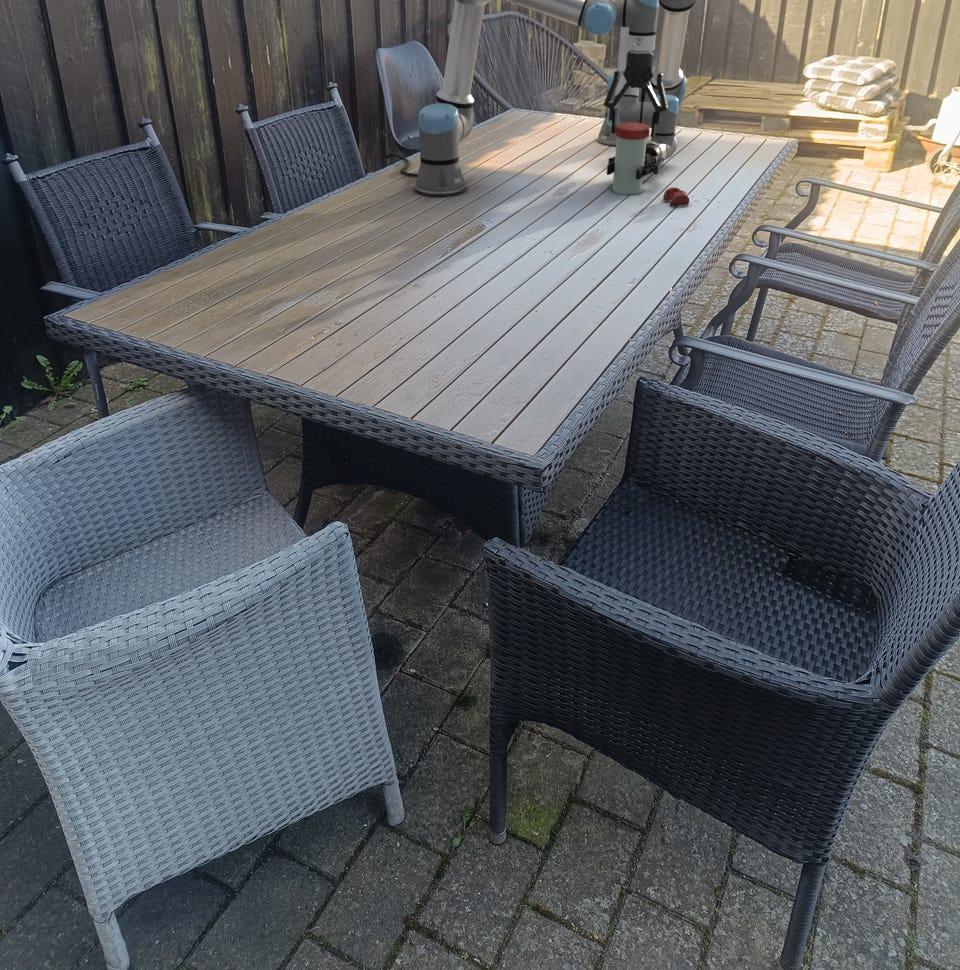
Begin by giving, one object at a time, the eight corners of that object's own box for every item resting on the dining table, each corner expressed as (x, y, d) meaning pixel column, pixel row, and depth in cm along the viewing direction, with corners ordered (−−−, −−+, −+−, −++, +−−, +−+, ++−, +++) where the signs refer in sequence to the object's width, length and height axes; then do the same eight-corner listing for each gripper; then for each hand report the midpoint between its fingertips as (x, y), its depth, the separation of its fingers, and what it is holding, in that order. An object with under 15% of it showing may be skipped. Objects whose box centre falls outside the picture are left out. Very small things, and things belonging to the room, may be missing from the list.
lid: (655, 135, 249) (656, 126, 248) (636, 141, 243) (637, 132, 242) (628, 129, 254) (628, 121, 253) (608, 135, 249) (609, 126, 247)
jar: (646, 190, 258) (653, 128, 248) (630, 196, 253) (636, 133, 243) (623, 184, 263) (629, 123, 253) (606, 190, 258) (611, 128, 248)
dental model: (680, 183, 249) (692, 191, 242) (678, 197, 251) (690, 206, 245) (662, 185, 248) (674, 193, 241) (661, 199, 250) (672, 208, 244)
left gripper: (596, 51, 237) (591, 133, 249) (679, 55, 229) (670, 140, 242) (603, 47, 242) (597, 128, 255) (685, 51, 235) (675, 134, 248)
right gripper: (681, 172, 265) (655, 190, 249) (617, 162, 274) (588, 180, 258) (684, 147, 260) (658, 164, 245) (620, 138, 269) (590, 154, 253)
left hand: (633, 134), depth 249 cm, fingers open, 11 cm apart
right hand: (622, 172), depth 251 cm, fingers closed on jar, 9 cm apart
